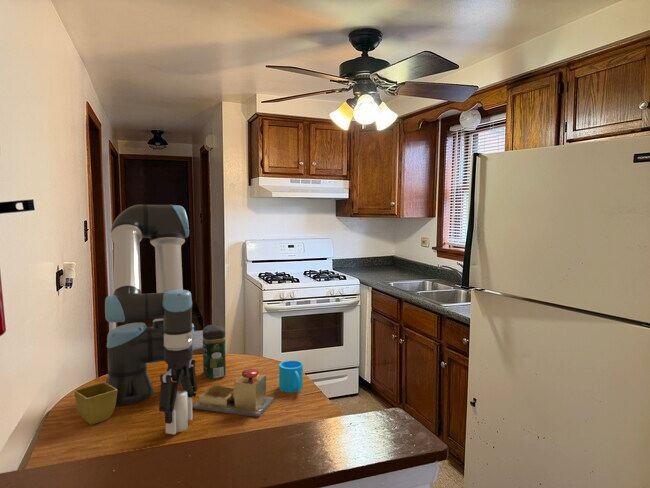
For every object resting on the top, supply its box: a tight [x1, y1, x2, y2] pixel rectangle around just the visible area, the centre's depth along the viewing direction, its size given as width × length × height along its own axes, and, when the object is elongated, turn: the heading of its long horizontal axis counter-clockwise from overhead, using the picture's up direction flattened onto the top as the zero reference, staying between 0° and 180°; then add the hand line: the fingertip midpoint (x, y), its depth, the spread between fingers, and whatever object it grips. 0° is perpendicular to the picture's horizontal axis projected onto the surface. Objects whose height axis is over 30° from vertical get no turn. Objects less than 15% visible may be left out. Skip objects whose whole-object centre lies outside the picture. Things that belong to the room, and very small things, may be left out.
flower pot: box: [73, 381, 117, 425], centre depth 127 cm, size 9×9×9 cm
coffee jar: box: [202, 323, 227, 380], centre depth 162 cm, size 10×8×19 cm
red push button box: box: [192, 368, 275, 418], centre depth 138 cm, size 22×12×11 cm, turn 75°
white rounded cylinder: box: [174, 389, 189, 433], centre depth 123 cm, size 4×4×10 cm
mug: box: [278, 360, 304, 393], centre depth 150 cm, size 12×8×8 cm
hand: (179, 425), depth 123 cm, fingers open, 8 cm apart
